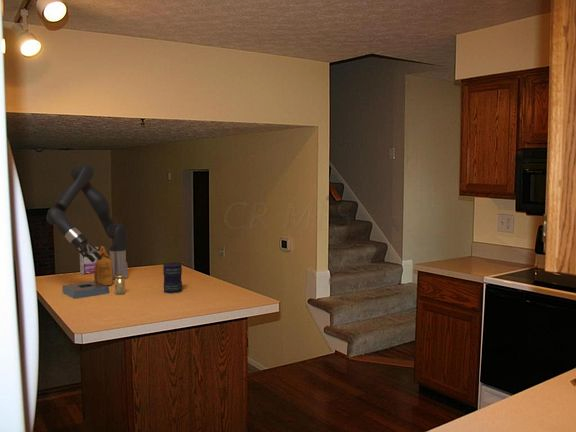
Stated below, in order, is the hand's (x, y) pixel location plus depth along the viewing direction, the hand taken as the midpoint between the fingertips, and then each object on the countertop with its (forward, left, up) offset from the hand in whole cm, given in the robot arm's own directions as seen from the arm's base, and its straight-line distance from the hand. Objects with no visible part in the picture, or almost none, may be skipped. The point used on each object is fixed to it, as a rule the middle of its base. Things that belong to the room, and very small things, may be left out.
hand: (97, 260), depth 281 cm
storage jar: (-32, +21, -18) cm, 43 cm away
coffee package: (-11, -21, -18) cm, 30 cm away
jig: (+5, -6, -18) cm, 20 cm away
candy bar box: (-19, -63, -18) cm, 68 cm away
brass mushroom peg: (-8, +8, -18) cm, 22 cm away
